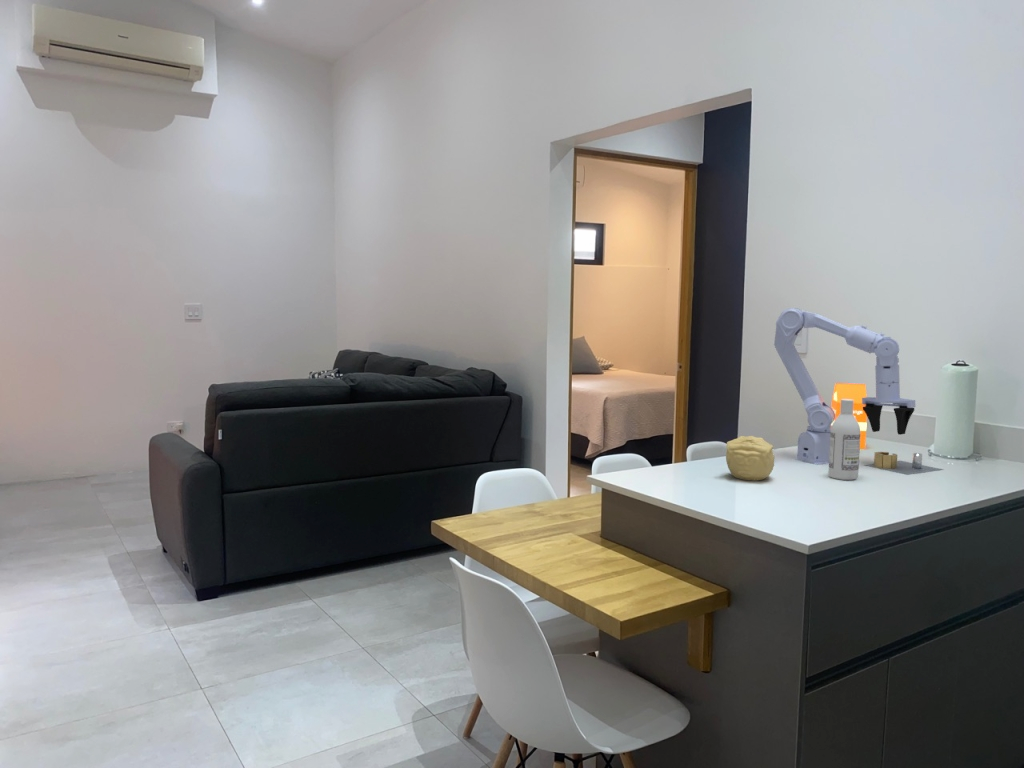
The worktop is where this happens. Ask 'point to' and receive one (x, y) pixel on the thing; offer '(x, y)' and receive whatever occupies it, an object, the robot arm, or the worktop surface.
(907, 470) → the mat
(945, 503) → the worktop surface
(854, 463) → the bath foam
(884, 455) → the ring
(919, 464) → the piston post
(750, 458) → the sculpture
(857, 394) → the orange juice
